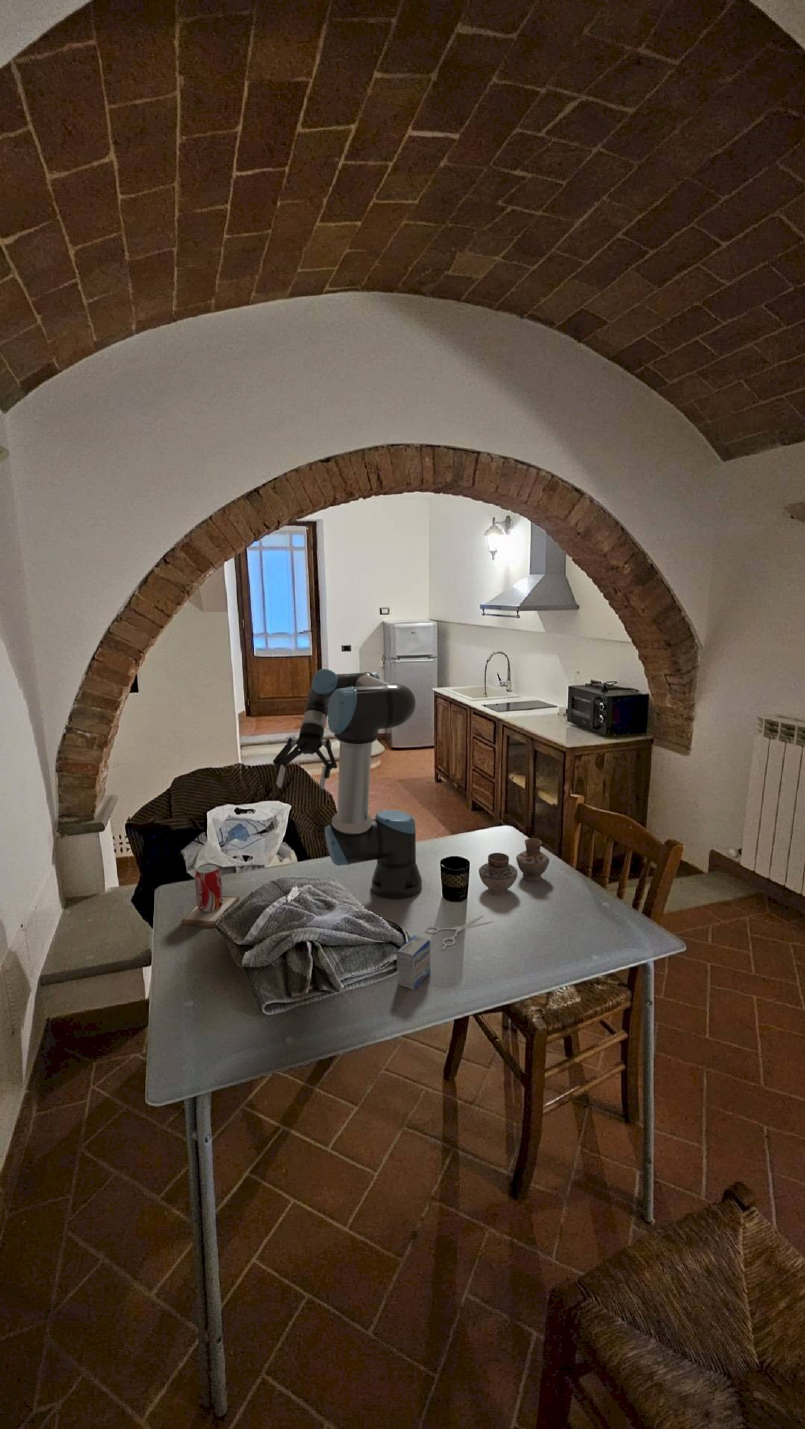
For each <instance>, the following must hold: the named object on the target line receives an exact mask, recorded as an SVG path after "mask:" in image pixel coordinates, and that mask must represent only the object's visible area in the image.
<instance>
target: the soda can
mask: <svg viewBox="0 0 805 1429" xmlns="http://www.w3.org/2000/svg"><path fill="white" fill-rule="evenodd" d="M221 873H222V872H221V869H220V868H219V865H218V864H215V863H205V864H201V865H199V866H198V867H197V868H196V872H195V874H194V885H195V896H196V897H195V899H196V906H197V905H198V909H199V910H201V911H203V912H213V911H216V910H218V909H219V908H220V907H221V906H222V905H223V896H224V892H223V881H222V878H223V877H222V874H221Z"/></svg>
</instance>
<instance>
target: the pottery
mask: <svg viewBox="0 0 805 1429" xmlns="http://www.w3.org/2000/svg"><path fill="white" fill-rule="evenodd" d="M542 843H543V842H542V840H540V839H538V838H526V839H525V840H524V844H525V850H524V851H521V852H520V853H519V854H517V855H516V858H515V859H516V864H517V867H518V869H519V870H520V872H521V873H522V878H523V879H524V880H526V881H529V882H539V881H541V880H542V875H543V874H544V873H545V872H546V870H547V868H548V866H549V863H550V858H549V856H547V855H546V854H545V853H543V852H542V851H541V847H542V846H541V845H542ZM509 862H510V856H509V855H508V854H505V853H502V852H493V853H489V854H488V855H487V863H484V864H483V865H481V866H480V867H479V868H478V876H479V878H480V880H481V881H482V882H481V883H483V884H484V886H485V887H486V888H487V890H488V892H489V893H490V894H491V895H496V896H501V895H505V894H507V893H508V889H509V888H511V887H512V886H513V885H514V883H515V882H516V880H517V878H518V869H517V868H516V867H515V866H514V865H512V864H510V863H509Z"/></svg>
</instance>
